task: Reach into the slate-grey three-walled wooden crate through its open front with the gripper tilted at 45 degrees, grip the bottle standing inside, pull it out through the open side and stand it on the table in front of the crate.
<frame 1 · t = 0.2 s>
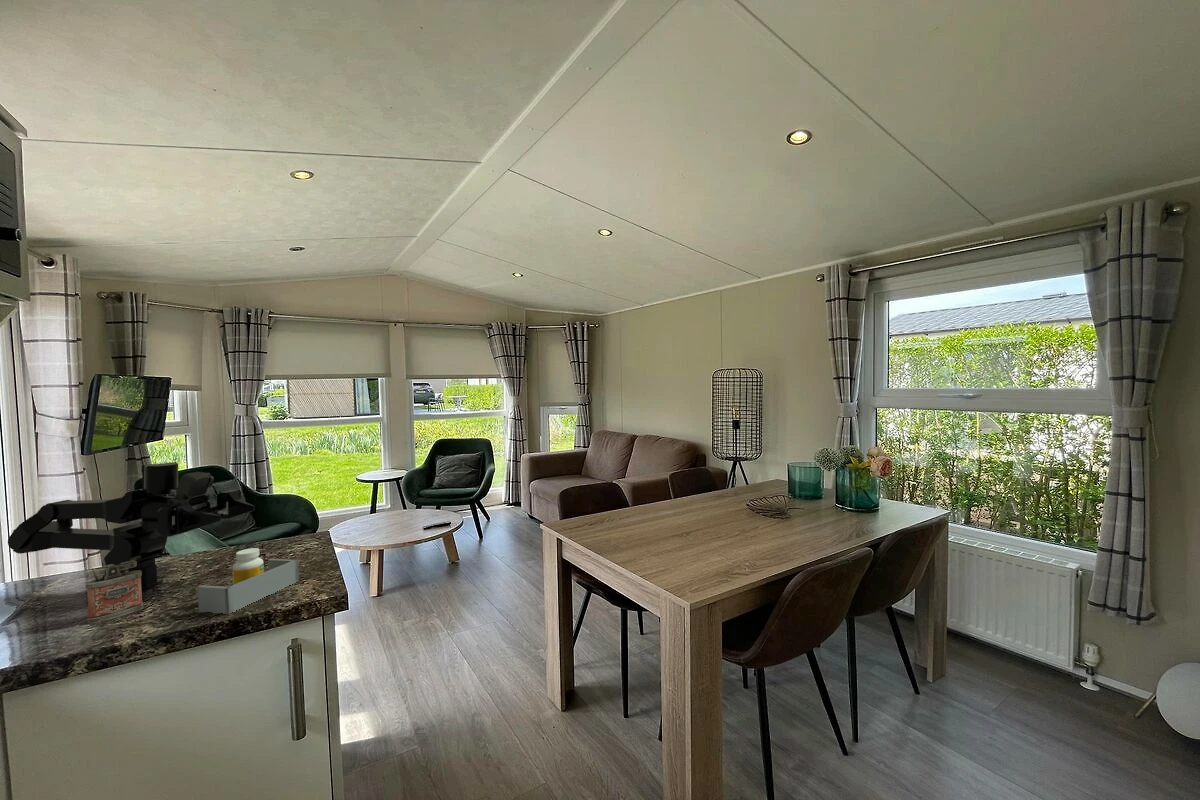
hand: (238, 512, 110), 17 cm above the worktop, tool horizontal, fingers open, 9 cm apart
supplement bottle: (249, 596, 105), on the worktop
lighter: (116, 615, 98), on the worktop
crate: (249, 595, 105), on the worktop
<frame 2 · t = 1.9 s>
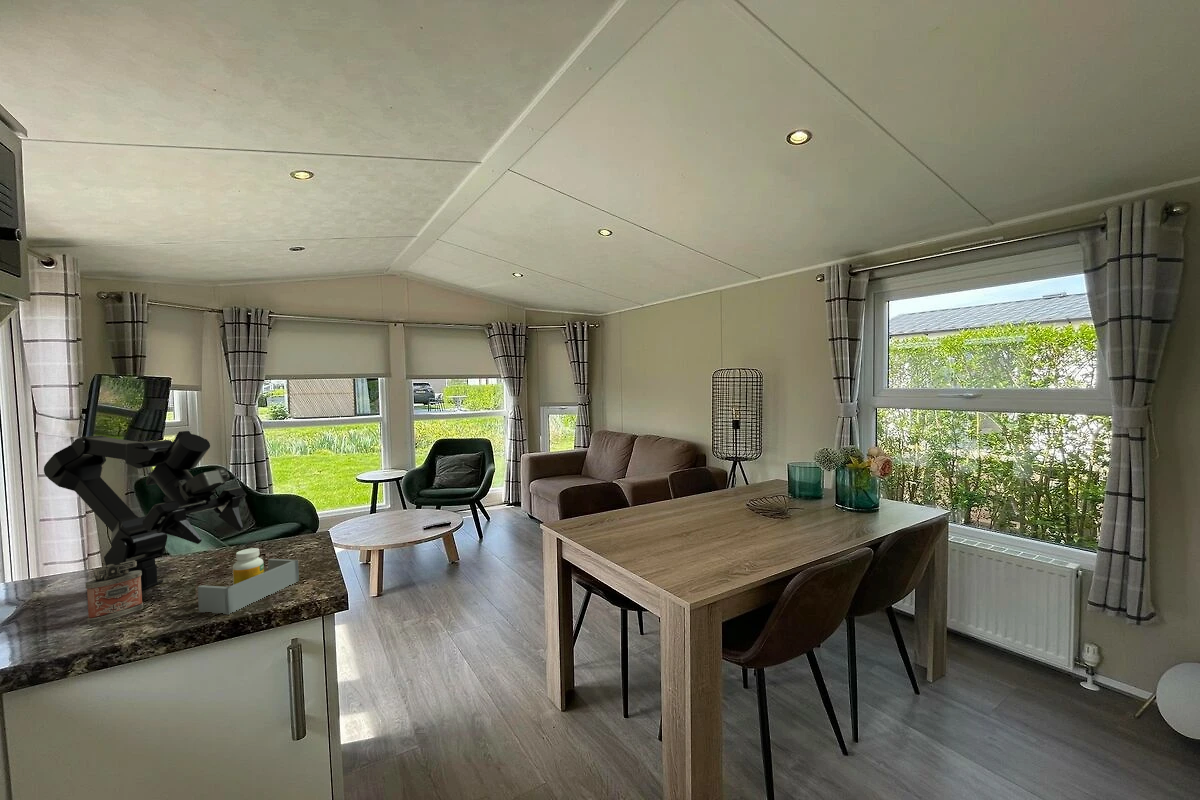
hand: (221, 535, 106), 13 cm above the worktop, tool tilted 45°, fingers open, 9 cm apart
nothing on the worktop moved.
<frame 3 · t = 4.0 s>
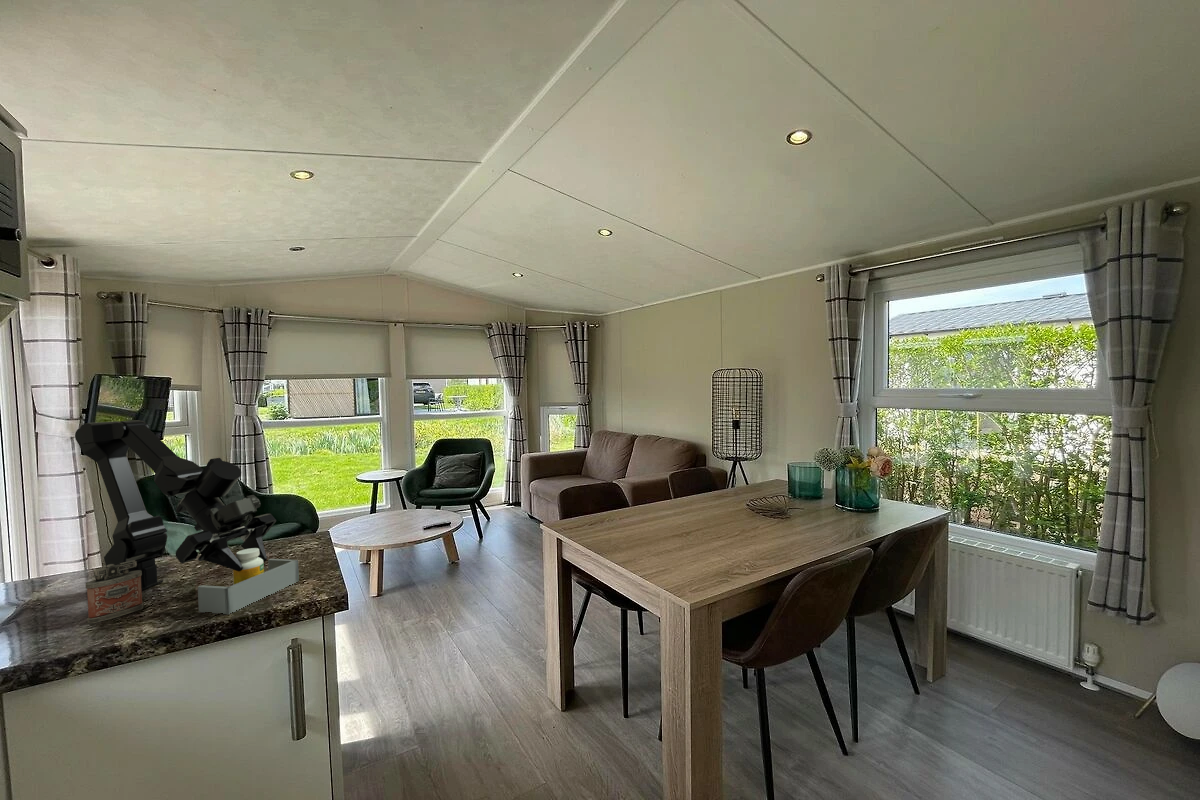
hand: (253, 565, 104), 7 cm above the worktop, tool tilted 45°, fingers closed on supplement bottle, 5 cm apart
supplement bottle: (249, 596, 105), on the worktop, touching gripper
everything else where it was.
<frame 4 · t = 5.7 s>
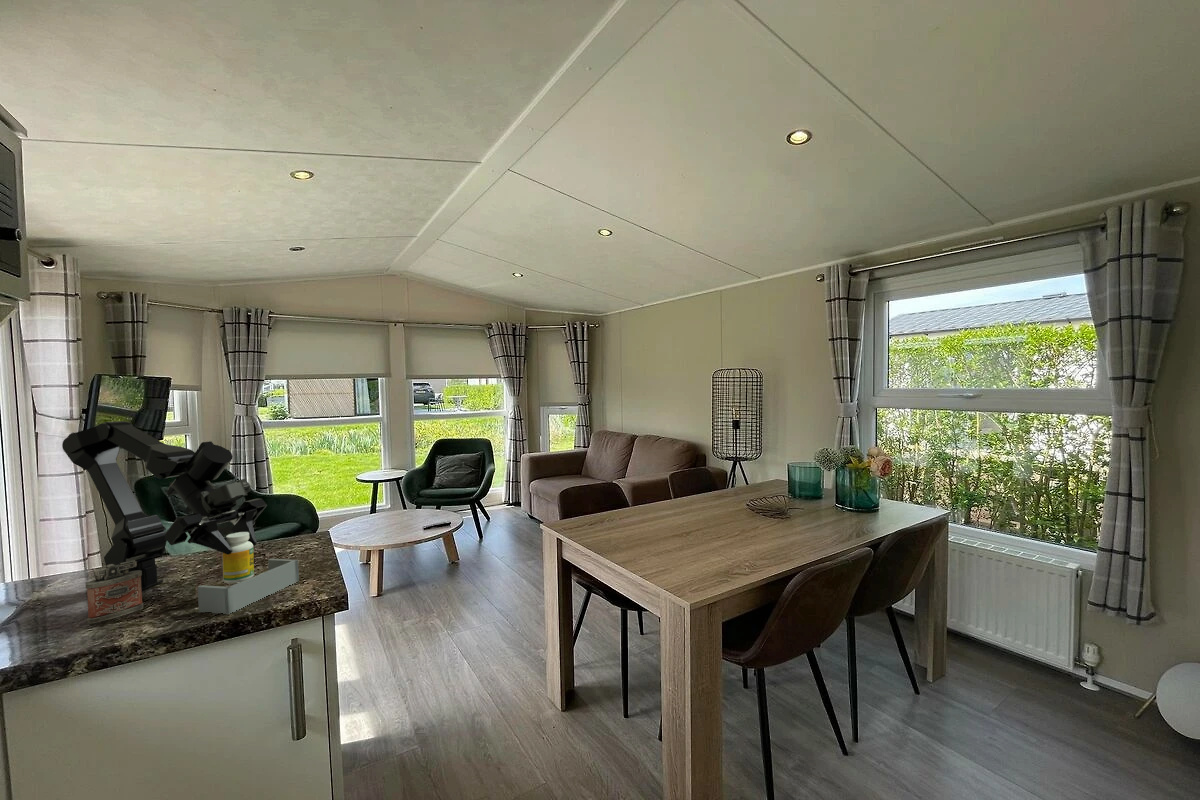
hand: (243, 548, 105), 10 cm above the worktop, tool tilted 45°, fingers closed on supplement bottle, 5 cm apart
supplement bottle: (238, 580, 105), point 3 cm above the worktop, touching gripper
everything else where it was.
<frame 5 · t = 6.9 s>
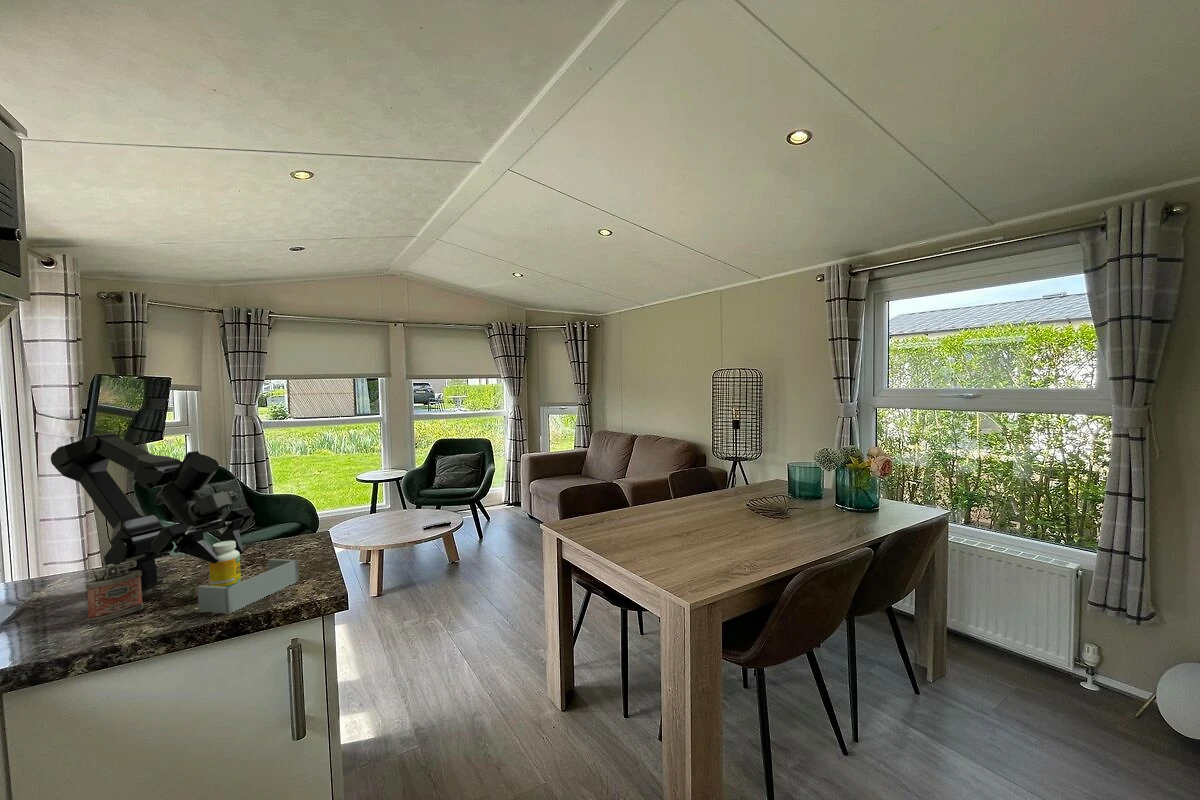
hand: (229, 557, 106), 8 cm above the worktop, tool tilted 45°, fingers closed on supplement bottle, 5 cm apart
supplement bottle: (225, 588, 106), point 1 cm above the worktop, touching gripper
everything else where it was.
when the fingers open (7 cm above the worktop, at t = 7.4 s): supplement bottle stays where it is, on the worktop.
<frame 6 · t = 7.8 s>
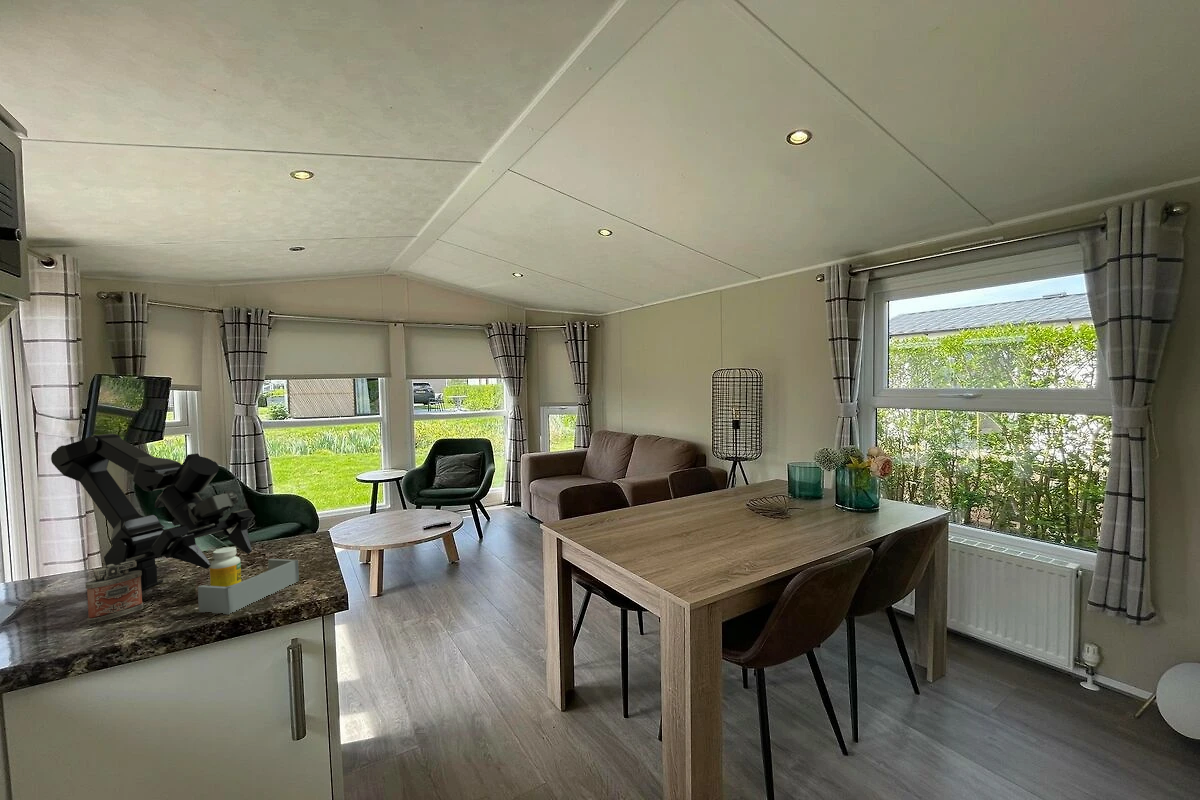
hand: (230, 559, 106), 8 cm above the worktop, tool tilted 45°, fingers open, 9 cm apart
supplement bottle: (226, 595, 106), on the worktop
everything else where it was.
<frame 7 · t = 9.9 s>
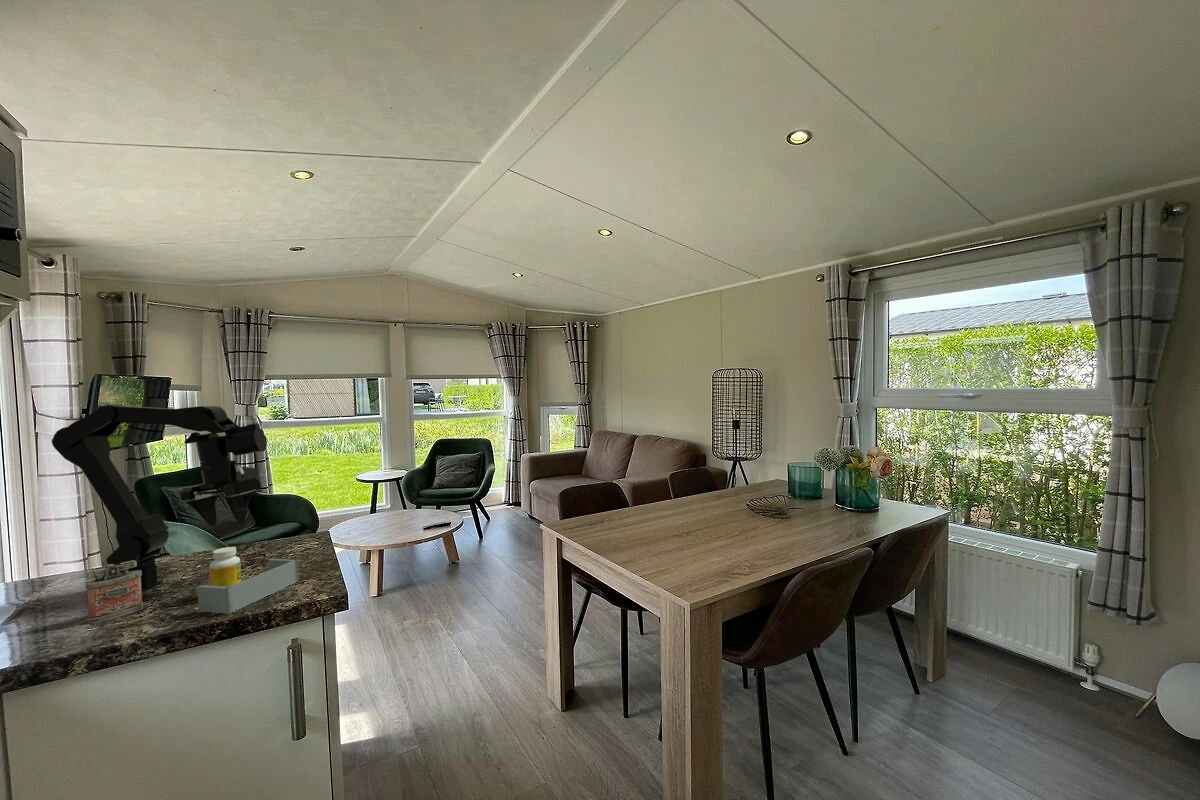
hand: (227, 524, 116), 13 cm above the worktop, tool pointing down, fingers open, 9 cm apart
nothing on the worktop moved.
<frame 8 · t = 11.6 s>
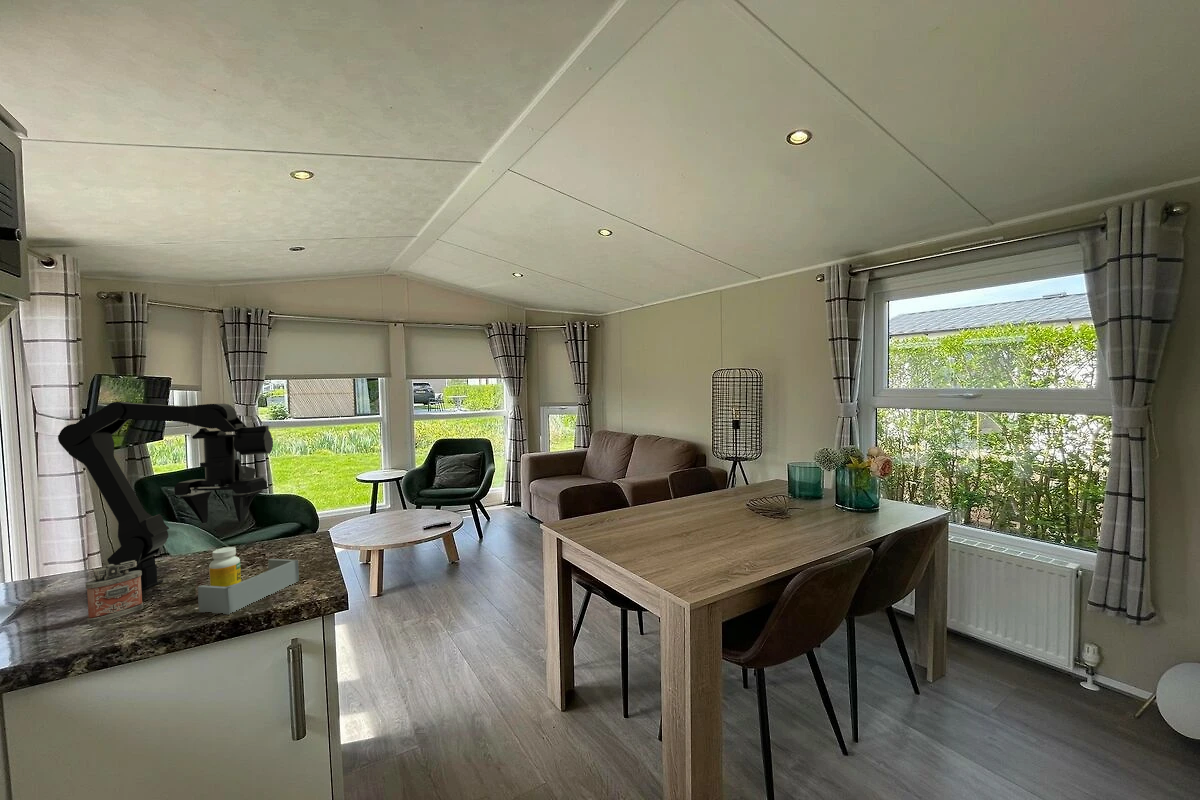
hand: (223, 522, 117), 13 cm above the worktop, tool pointing down, fingers open, 9 cm apart
nothing on the worktop moved.
at the end: supplement bottle inside the target area on the worktop beside the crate (2.4 cm from its centre), on the worktop; supplement bottle tilted 0°; the gripper is holding nothing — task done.
